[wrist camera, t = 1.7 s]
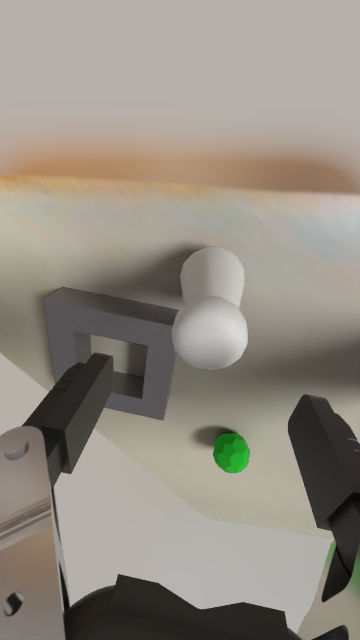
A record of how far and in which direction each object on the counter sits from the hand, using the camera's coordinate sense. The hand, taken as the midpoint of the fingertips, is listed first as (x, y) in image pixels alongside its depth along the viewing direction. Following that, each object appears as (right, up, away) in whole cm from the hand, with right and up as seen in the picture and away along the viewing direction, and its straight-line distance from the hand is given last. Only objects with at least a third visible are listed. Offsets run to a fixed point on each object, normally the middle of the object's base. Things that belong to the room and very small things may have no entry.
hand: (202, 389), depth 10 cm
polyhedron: (+6, -14, +26) cm, 30 cm away
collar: (-8, -1, +20) cm, 22 cm away
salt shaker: (+2, +8, +14) cm, 16 cm away
